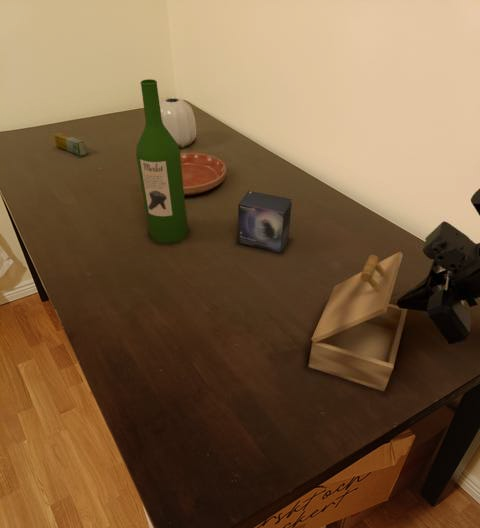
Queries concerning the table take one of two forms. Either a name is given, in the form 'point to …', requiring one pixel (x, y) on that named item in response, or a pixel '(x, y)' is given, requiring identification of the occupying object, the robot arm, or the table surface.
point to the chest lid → (359, 297)
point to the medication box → (70, 144)
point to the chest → (362, 350)
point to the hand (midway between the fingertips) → (398, 304)
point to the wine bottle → (160, 173)
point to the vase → (178, 120)
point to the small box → (264, 221)
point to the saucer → (201, 172)
